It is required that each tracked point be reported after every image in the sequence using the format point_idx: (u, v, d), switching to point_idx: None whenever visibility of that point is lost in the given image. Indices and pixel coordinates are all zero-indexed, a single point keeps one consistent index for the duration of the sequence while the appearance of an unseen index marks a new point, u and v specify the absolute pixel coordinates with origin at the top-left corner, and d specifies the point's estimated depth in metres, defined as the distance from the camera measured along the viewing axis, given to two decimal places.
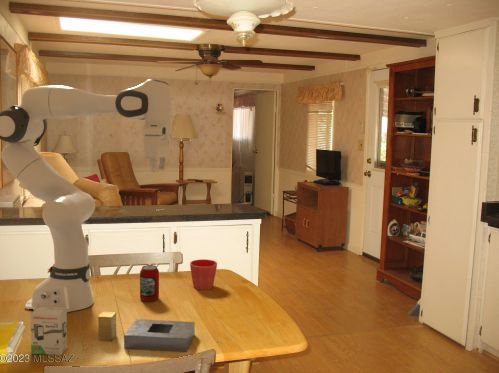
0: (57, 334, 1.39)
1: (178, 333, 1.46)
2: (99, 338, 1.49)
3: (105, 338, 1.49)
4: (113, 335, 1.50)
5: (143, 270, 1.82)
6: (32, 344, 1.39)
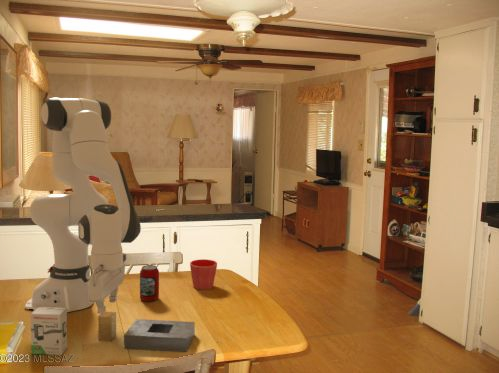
0: (57, 334, 1.39)
1: (178, 333, 1.46)
2: (99, 338, 1.49)
3: (105, 338, 1.49)
4: (113, 335, 1.50)
5: (143, 270, 1.82)
6: (32, 344, 1.39)
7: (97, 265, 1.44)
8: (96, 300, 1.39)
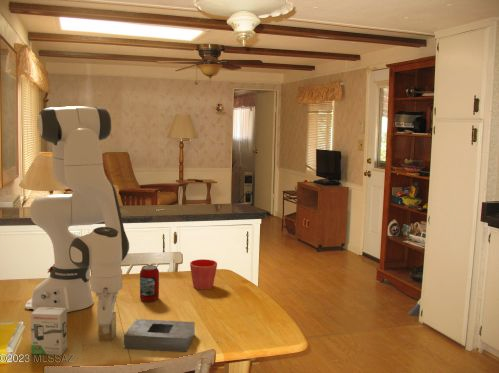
0: (57, 334, 1.39)
1: (178, 333, 1.46)
2: (99, 338, 1.49)
3: (105, 338, 1.49)
4: (113, 335, 1.50)
5: (143, 270, 1.82)
6: (32, 344, 1.39)
7: (101, 288, 1.44)
8: (106, 323, 1.40)
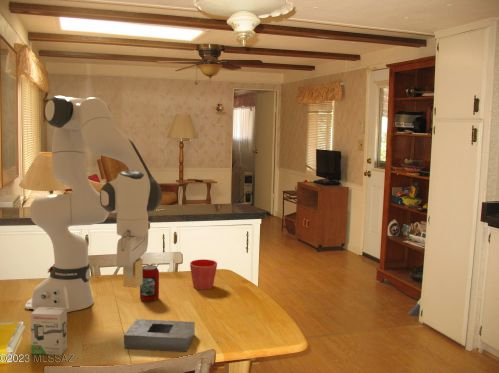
0: (57, 334, 1.39)
1: (178, 333, 1.46)
2: (124, 283, 1.46)
3: (129, 284, 1.46)
4: (137, 282, 1.46)
5: (143, 270, 1.82)
6: (32, 344, 1.39)
7: (124, 231, 1.42)
8: (124, 265, 1.37)
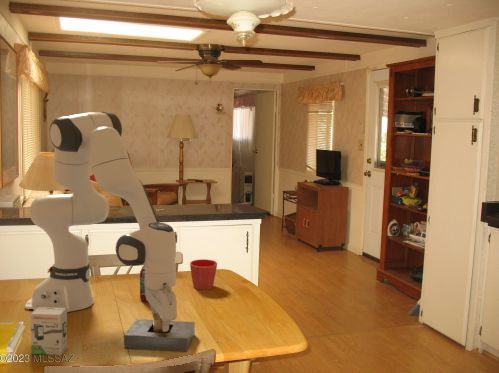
0: (57, 334, 1.39)
1: (178, 333, 1.46)
2: None
3: None
4: None
5: (143, 270, 1.82)
6: (32, 344, 1.39)
7: (160, 284, 1.43)
8: (172, 318, 1.40)
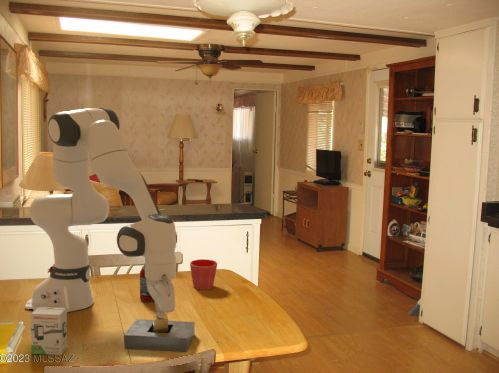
0: (57, 334, 1.39)
1: (178, 333, 1.46)
2: None
3: None
4: None
5: (143, 270, 1.82)
6: (32, 344, 1.39)
7: (159, 275, 1.43)
8: (171, 310, 1.39)
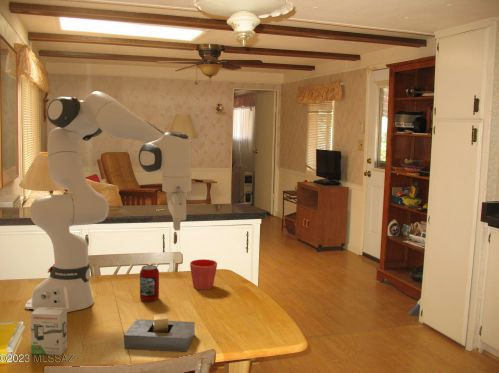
0: (57, 334, 1.39)
1: (178, 333, 1.46)
2: None
3: None
4: None
5: (143, 270, 1.82)
6: (32, 344, 1.39)
7: (174, 187, 1.52)
8: (182, 218, 1.47)
